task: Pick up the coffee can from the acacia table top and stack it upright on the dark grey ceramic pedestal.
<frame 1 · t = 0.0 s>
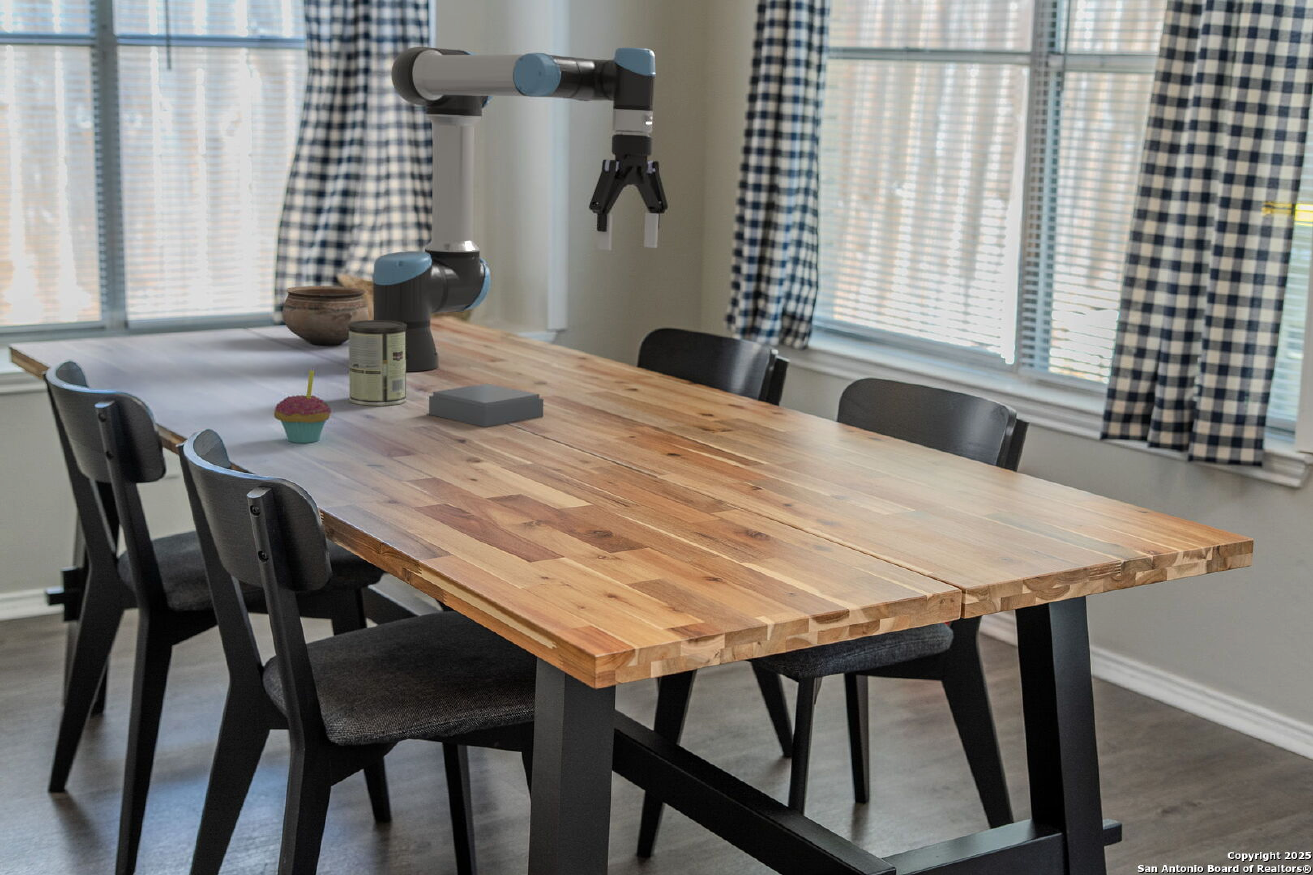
hand: (627, 248, 259), 28 cm above the table, fingers open, 13 cm apart
coffee can: (377, 401, 248), on the table
pedestal: (486, 415, 239), on the table
cupcake: (302, 441, 214), on the table
cooking pot: (326, 345, 310), on the table
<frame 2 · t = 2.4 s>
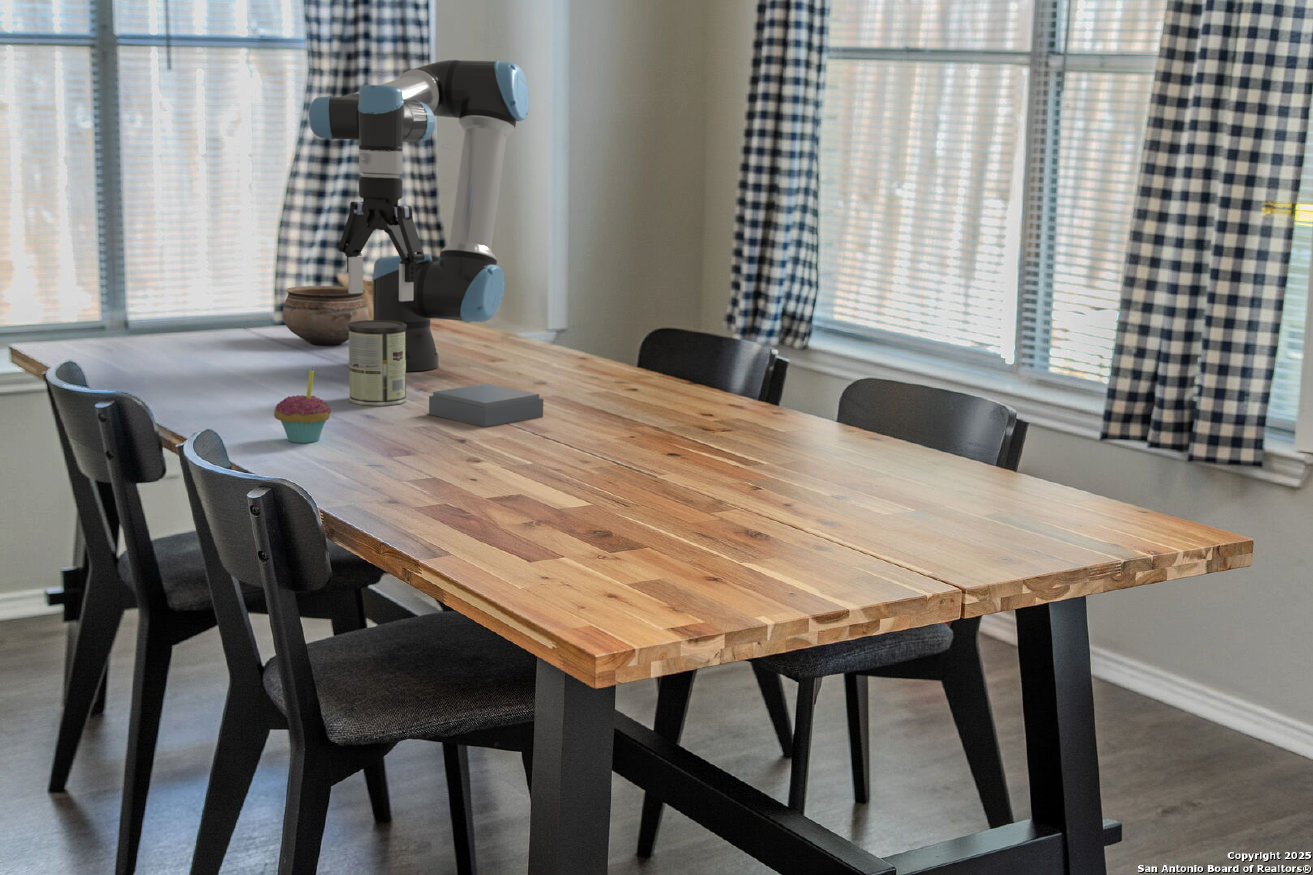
hand: (380, 297, 244), 19 cm above the table, fingers open, 13 cm apart
nothing on the table moved.
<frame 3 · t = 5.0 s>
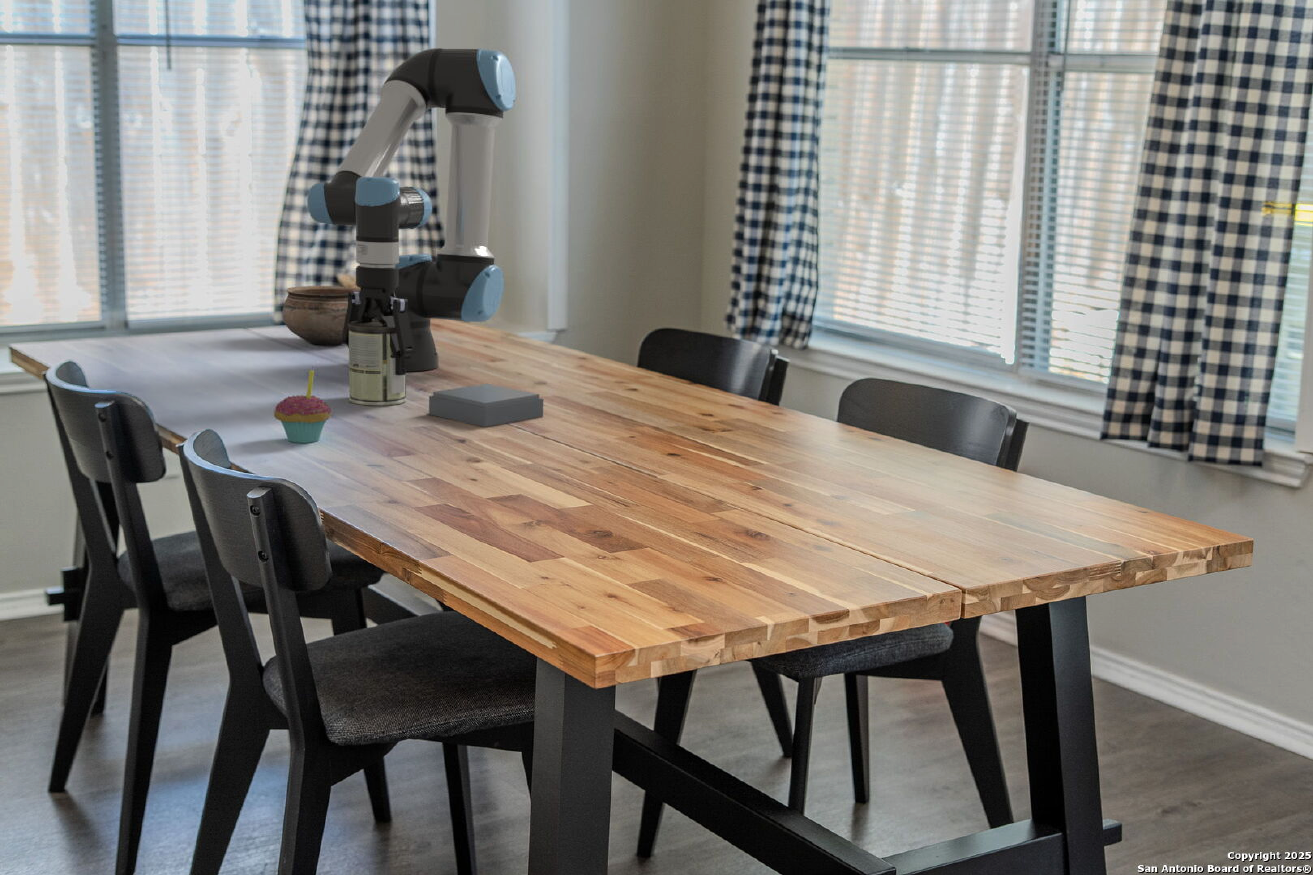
hand: (377, 388, 247), 2 cm above the table, fingers closed on coffee can, 10 cm apart
coffee can: (377, 401, 248), on the table, touching gripper
everything else where it was.
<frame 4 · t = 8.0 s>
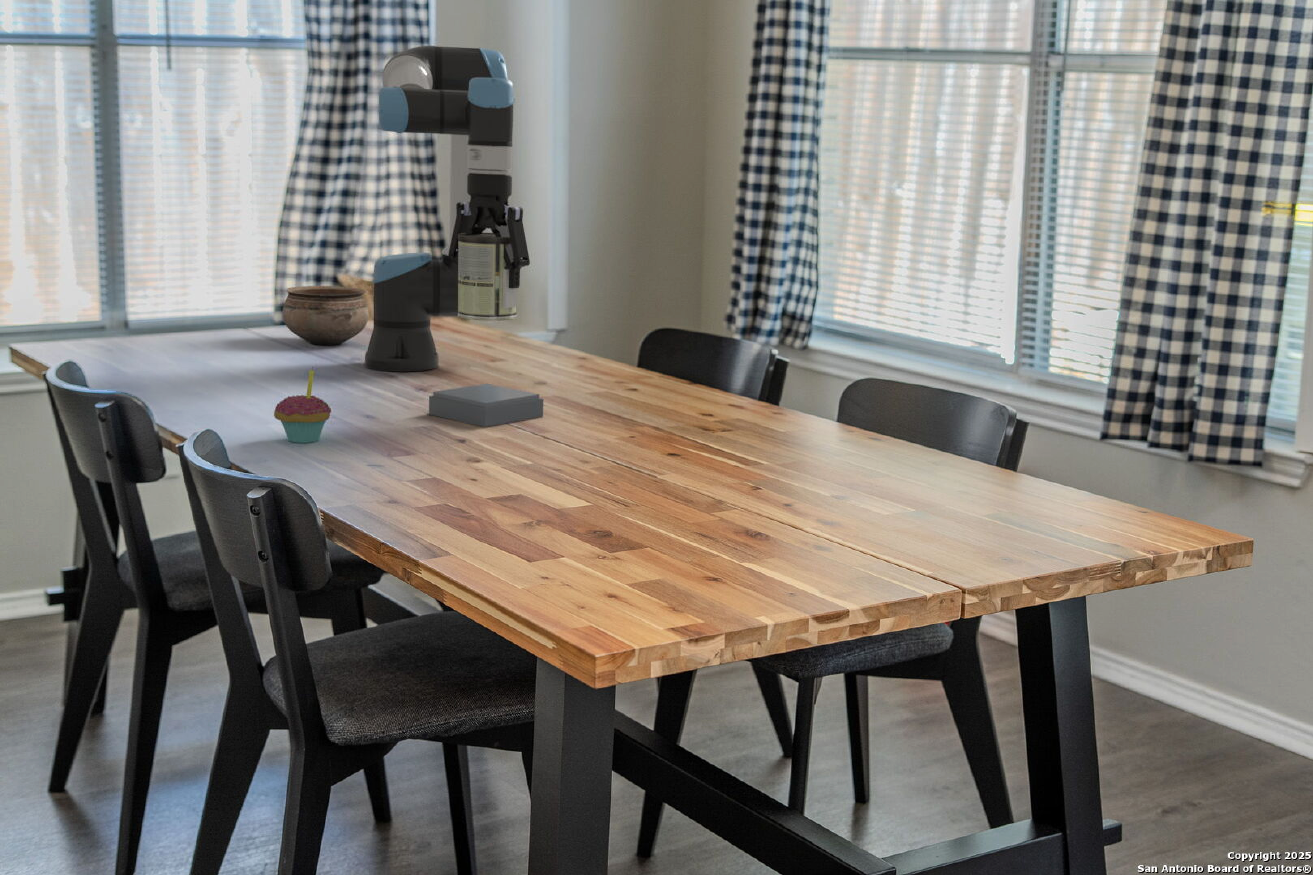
hand: (487, 304, 235), 20 cm above the table, fingers closed on coffee can, 10 cm apart
coffee can: (486, 318, 235), point 17 cm above the table, touching gripper
everything else where it was.
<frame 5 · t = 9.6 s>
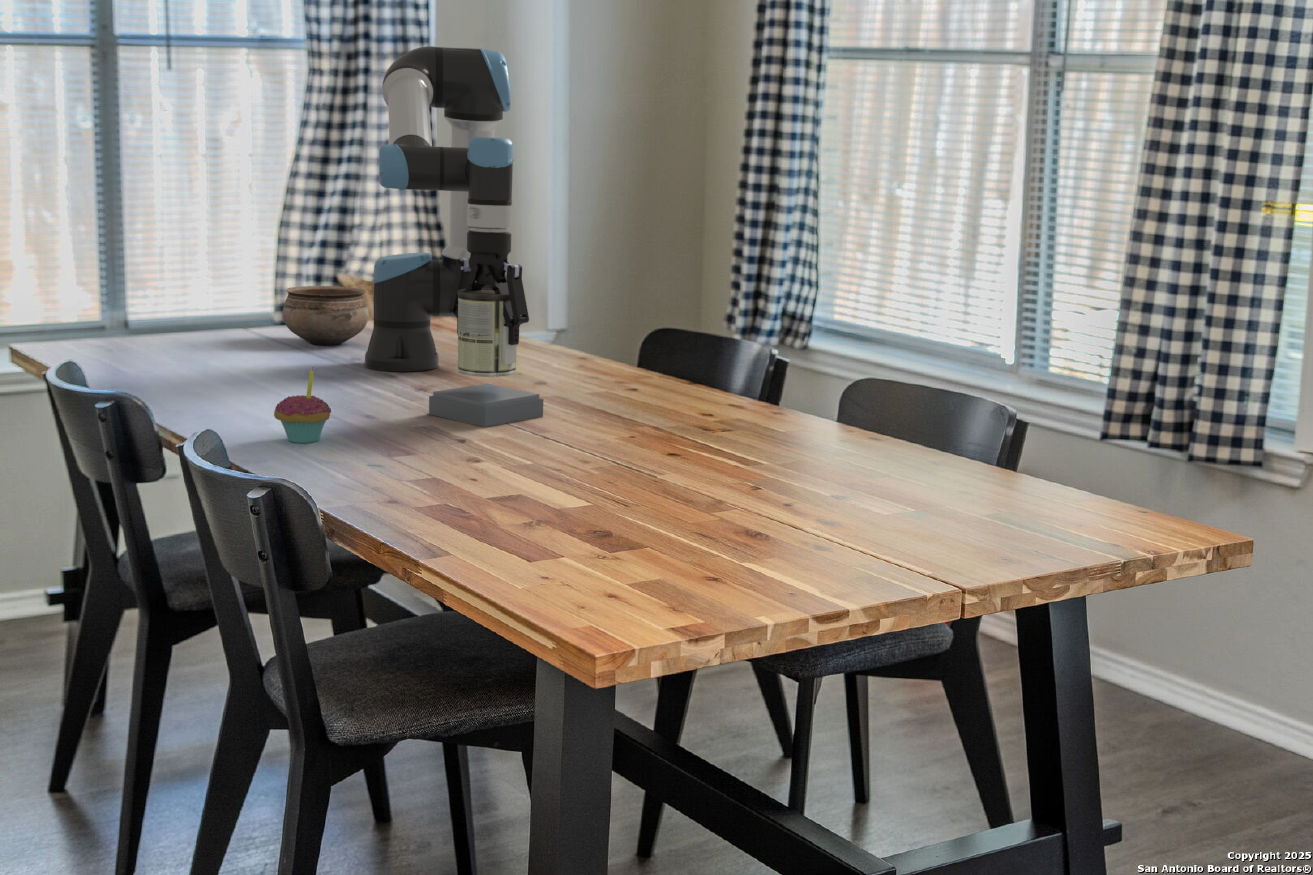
hand: (487, 359, 237), 10 cm above the table, fingers closed on coffee can, 10 cm apart
coffee can: (486, 373, 237), point 8 cm above the table, touching gripper
everything else where it was.
when the fingers open (8 cm above the table, at t = 11.1 s): coffee can drops 1 cm, resting on pedestal.
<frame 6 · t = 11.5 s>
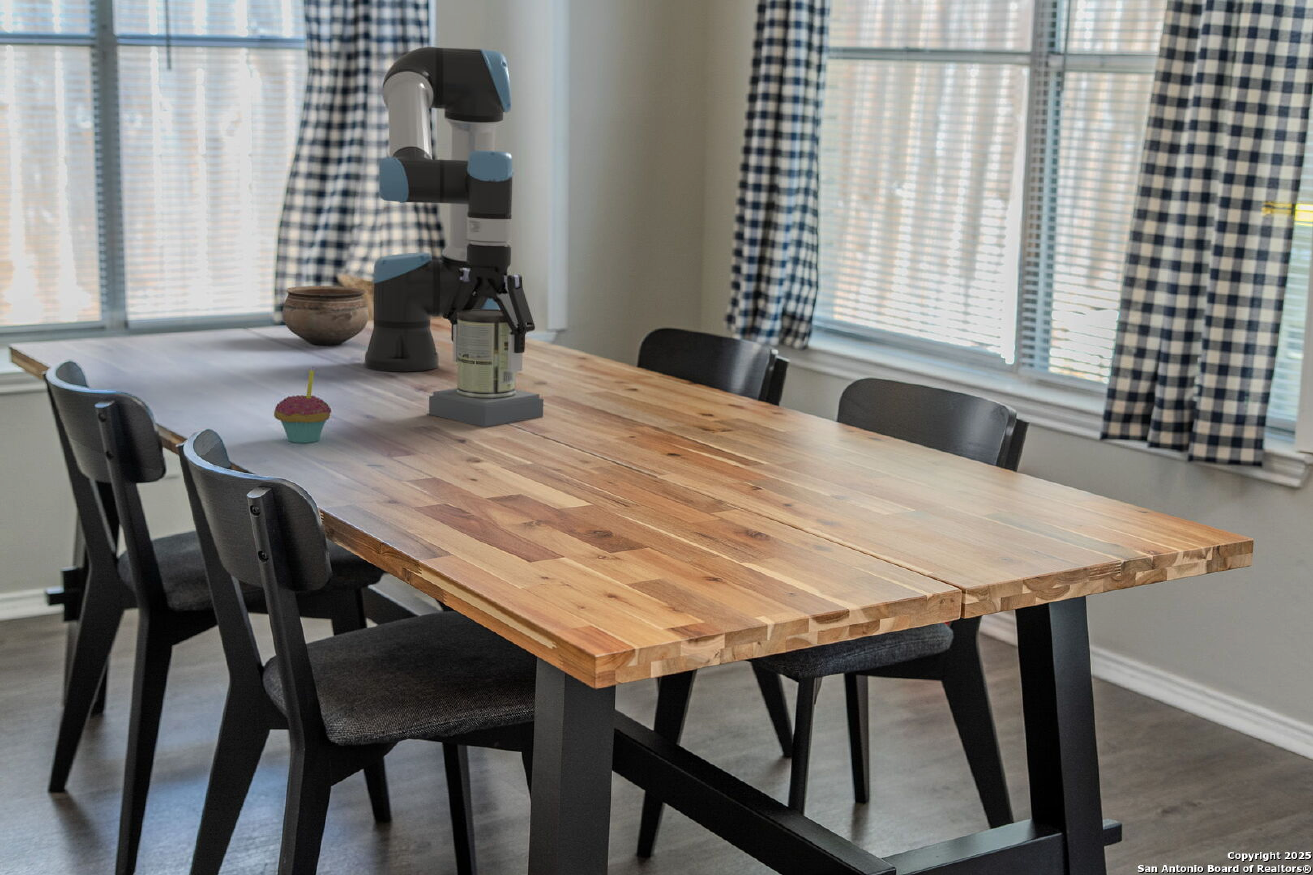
hand: (487, 366, 237), 9 cm above the table, fingers open, 13 cm apart
coffee can: (485, 393, 238), point 4 cm above the table, touching pedestal
everything else where it was.
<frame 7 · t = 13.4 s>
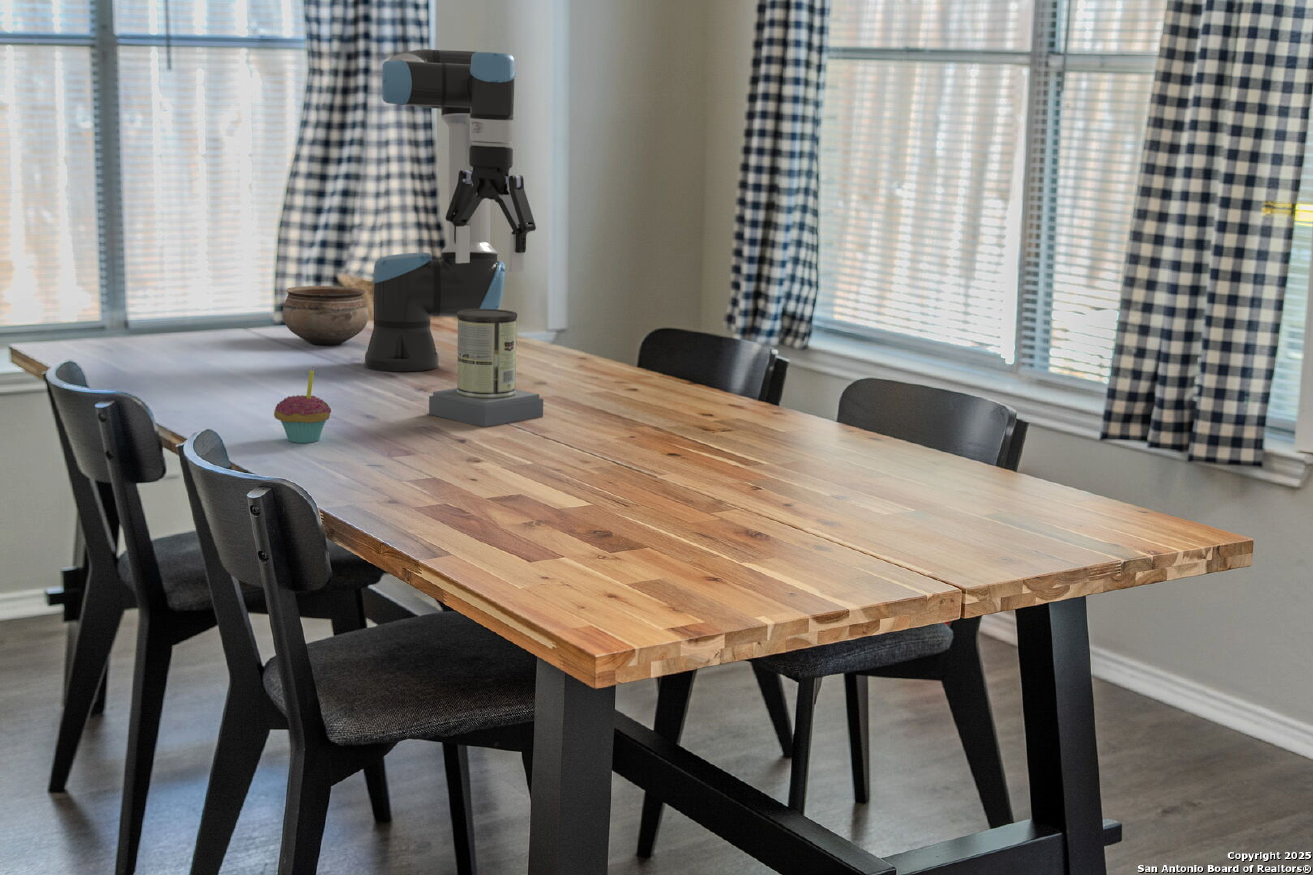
hand: (488, 267, 242), 25 cm above the table, fingers open, 13 cm apart
nothing on the table moved.
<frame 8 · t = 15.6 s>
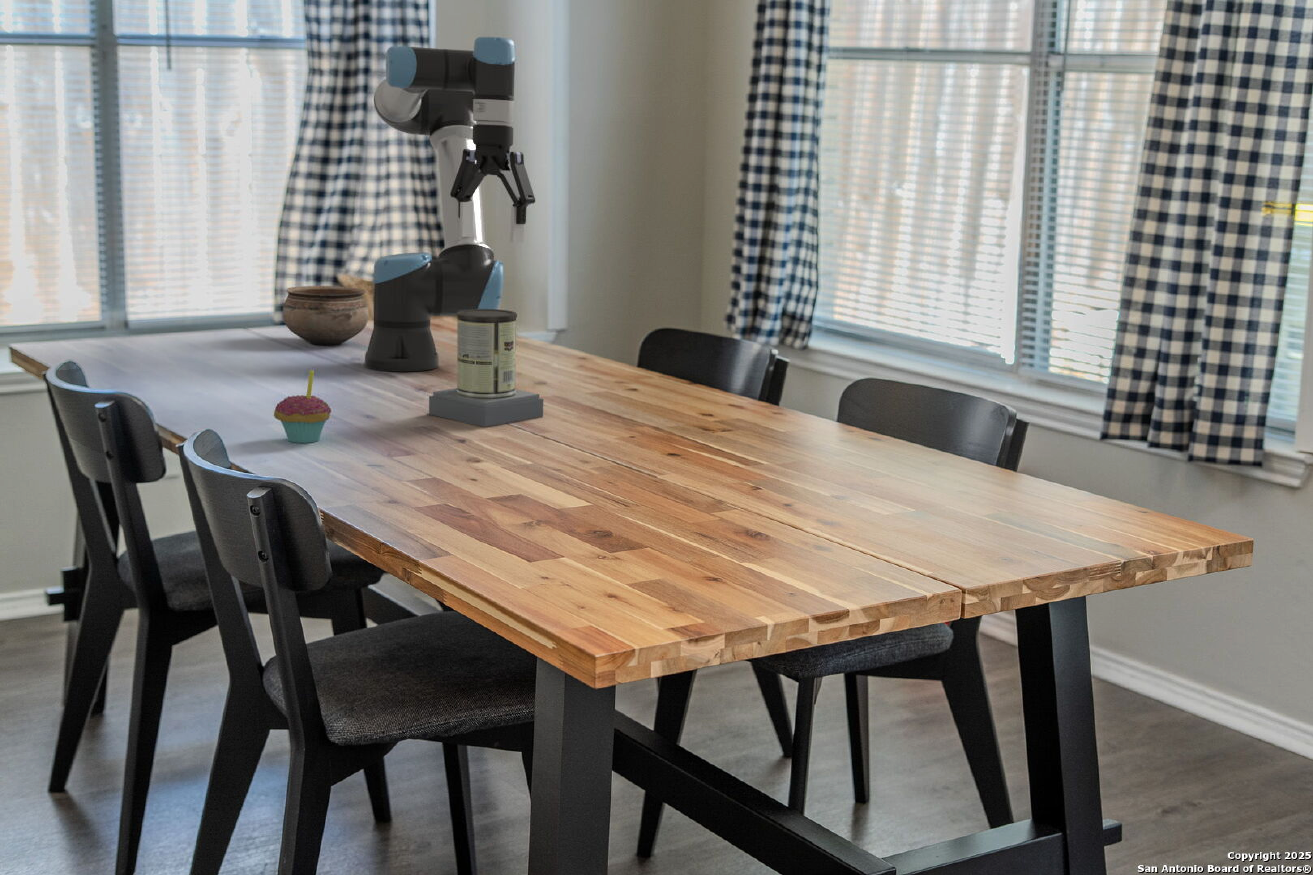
hand: (491, 239, 258), 29 cm above the table, fingers open, 13 cm apart
nothing on the table moved.
at the end: coffee can inside the target area on the pedestal (0.1 cm from its centre), point 3.8 cm above the pedestal's base; coffee can tilted 0°; the gripper is holding nothing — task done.
